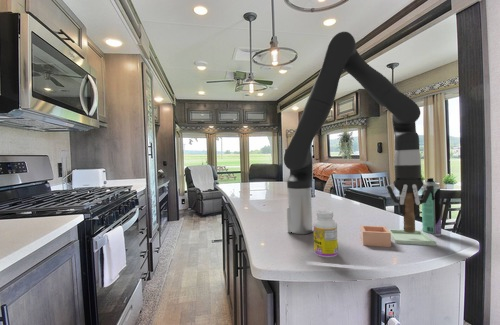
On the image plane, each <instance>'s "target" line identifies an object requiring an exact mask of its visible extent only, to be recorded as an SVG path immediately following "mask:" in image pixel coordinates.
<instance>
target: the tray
mask: <svg viewBox="0 0 500 325" xmlns="http://www.w3.org/2000/svg"><path fill="white" fill-rule="evenodd" d="M387 229H388V230H389V232H390V233H391V240H392V241H393V242H394V243H395V244H399V245H400V244H401V245H414V246H415V245H418V246H419V245H420V246H433V247H434V246H435V247H436V246H437V241H436V240H434V239H433V238H431V236H429V235H428V233H425V232H423V230H420V229H419V230H418V229H417V230H416V229H415V232H414V233H409V232H405V231H404V229H393V228H387Z"/></svg>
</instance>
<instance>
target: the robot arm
mask: <svg viewBox="0 0 500 325" xmlns="http://www.w3.org/2000/svg"><path fill="white" fill-rule="evenodd" d="M356 44H357V42H356V40H355V37H354V36H353V35H352V34H351V33H350V32H348V31H340V32H337V33H336V34H335V35H333V37H331V39H330V40H329V42H328V45H327V48H326V51H325V55H324V58H323V62H322V64H321V68H320V71H319V73H318V75H317V77H316V79H315V81H314V84H313V86H312V88H311V91H310V93H309V95H308V97H307V100H306V103H305V106H304V107H303V112H302V114H301V117H300V119H299V122H298V124H297V127H296V131H295V132H294V135H293V136H292V139H291V141H290V143H289V144H288V147H286V151H285V152H284V155H283V163H284V166H285V167H286V168H287V169H288V170H289V176H288V179H287V182H286V186H287V188H286V189H287V192H286V193H287V208H286V222H287V224H286V225H287V233H291V232H292V233H291V234H295V235H296V234H297V235H305V234H306V235H307V234H311V233H312V232H313V207H312V206H313V204H312V202H313V201H312V200H313V199H312V181H313V157H312V154H311V151H310V148H311V145H312V143H313V141H314V138H315V137H316V135H317V134H318V133H319V131H320V130H321V128H322V127H323V126H324V125H325V122H326V121H327V118H328V117H329V116H330V112H331V110H332V107H333V105H334V102H335V99H336V95H337V91H338V88H339V83H340V78H341V75H342V73H343V71H346V72H347V73H348V74H349V75H350V76H351V77H352V78H354V79H355V81H356V82H358V83H359V85H360V86H361V87H362V88H363V89H364V90H365V91H366V92H367V93H368V94H369V96H370V97H371V98H372V99H373V100H375V102H376V103H377V104H378V105H380V106H381V107H383V108H385V109H387V110H388V111H389V112H390V114H392V118H391V120H392V128H393V133H394V156H393V157H394V158H393V160H394V161H393V164H394V181H393V183H392V184H389V185H388V184H387V185H385V189H386V191H387V193H388V195H389V197H390V200H391V201H392V202H393V203H395V204H397V206H398V214H400V216H402V217H404V216H405V209H404V205H403V204H404V199H405V196H406V193H413V194H414V208H415V217H418V215H420V212H421V211H420V205H422V203H426V201H427V199H428V197H429V195H430V193H431V190H432V188H433V187H432V186H430V185H426V184H424V181H423V179H422V158H421V157H422V156H421V151H420V150H421V149H420V137H419V134H418V133H417V127H416V122H417V121H418V120H419V118H420V116H421V109H420V107H419V105H418V103H416V102H415V101H414V100H413V99H412V98H410V97H409V96H407V95H406V94H405V93H403V92H401V91H400V90H399V89H398V88H397V87H396V86H395V84H393V82H391V81H390V80H389V79H388V78H387V77H386V76H385V75H383V73H381V72H379V71H378V70H376V69H375V68H373V67H372V66H371V65H370V64H368V62H366V61H365V60H364V58H363V57H362V55H361V54H360V53H359V51H358V50H357V45H356ZM421 187H423V190H424V191H423V193H422V192H421V196H419V191H421V190H422V188H421ZM395 188H396V190H397V191H398V198H397V197H396V194H395V193H394V191H395Z"/></svg>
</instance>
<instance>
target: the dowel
mask: <svg viewBox="0 0 500 325" xmlns="http://www.w3.org/2000/svg"><path fill="white" fill-rule="evenodd" d="M403 205H404V209H405V216H403V230H404V231H405V232H409V233H414V232H415V230H416V216H415V208H414V194H413V193H406V196H405V199H404V204H403Z"/></svg>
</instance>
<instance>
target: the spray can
mask: <svg viewBox="0 0 500 325" xmlns="http://www.w3.org/2000/svg"><path fill="white" fill-rule="evenodd" d="M423 184H426V185H430V186H432V187H433V188H432V190H431V193H430V195H429V197H428V199H427V201H426V203H422V204H421V212H422V213H421V217H422V220H421V221H422V222H421V224H422V231H423V232H424V233H425V234H430V235H432V236H434V237H441V236H442V207H441V206H442V205H441V202H442V201H441V185H440V184H438V183H436V181H435V180H434V177H433V178H432V177H430V178H427V180H426V181H425V182H423ZM423 191H424V190H423V187H421V194H422V193H423Z"/></svg>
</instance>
